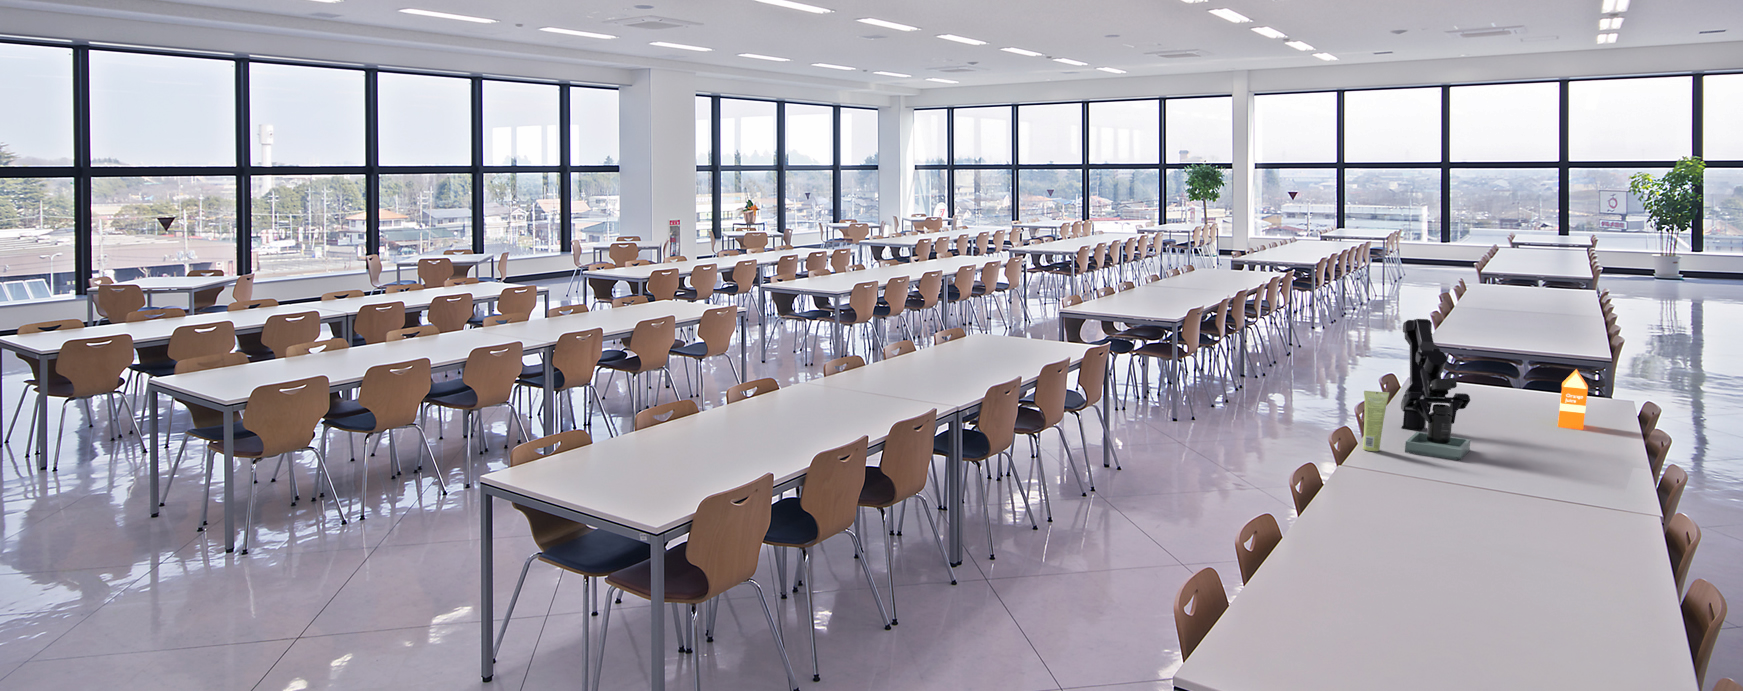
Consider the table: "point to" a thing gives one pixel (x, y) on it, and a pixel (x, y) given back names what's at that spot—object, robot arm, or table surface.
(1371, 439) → the tube
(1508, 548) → the table surface
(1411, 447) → the tray
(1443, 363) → the robot arm
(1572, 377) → the orange juice
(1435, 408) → the supplement bottle
